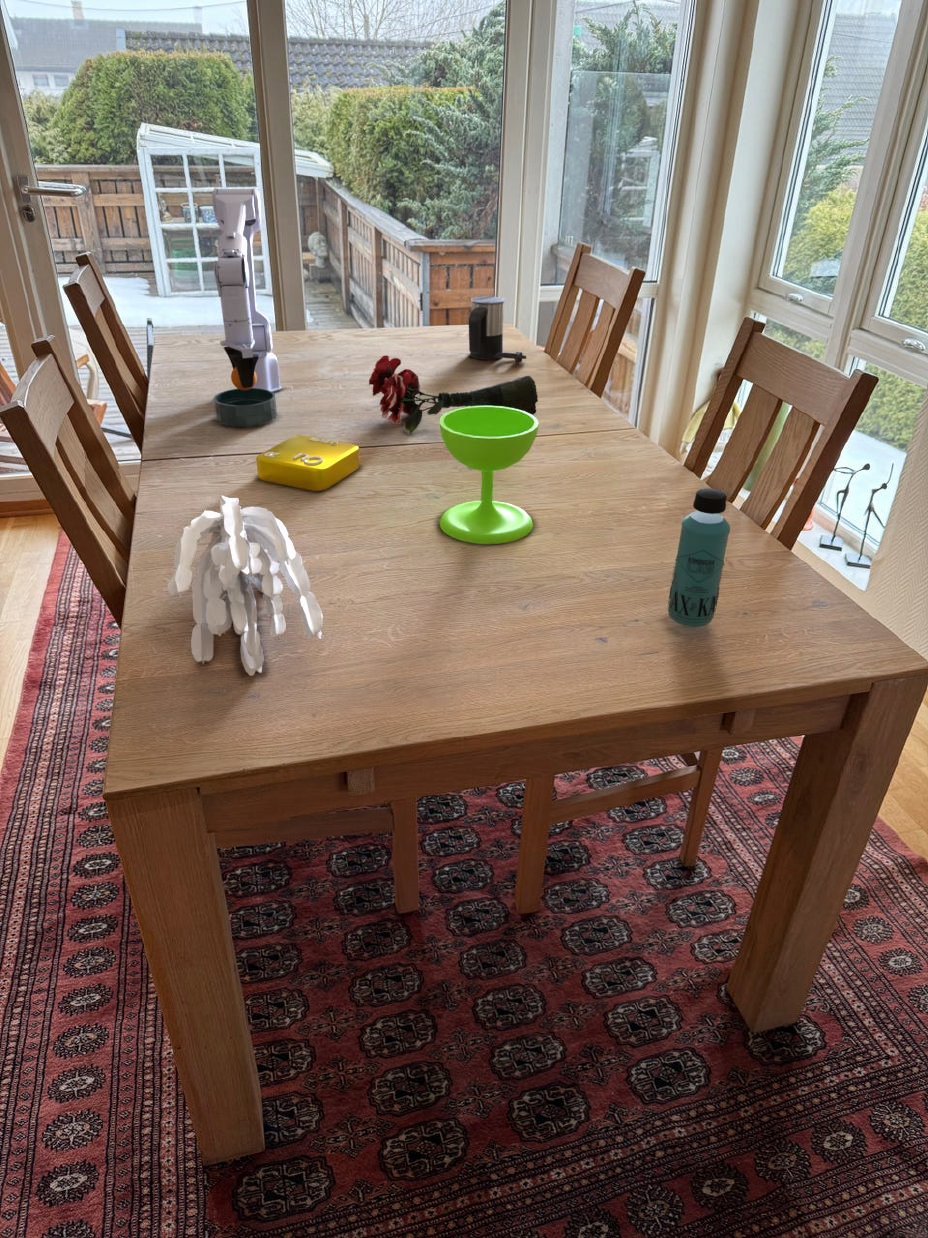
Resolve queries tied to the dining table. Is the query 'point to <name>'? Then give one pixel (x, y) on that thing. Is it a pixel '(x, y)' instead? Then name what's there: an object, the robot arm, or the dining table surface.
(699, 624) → the beverage bottle
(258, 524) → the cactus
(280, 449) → the element tile
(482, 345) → the milk frother
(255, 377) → the mandarin
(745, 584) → the dining table surface
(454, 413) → the wineglass
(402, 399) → the carnation
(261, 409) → the bowl
